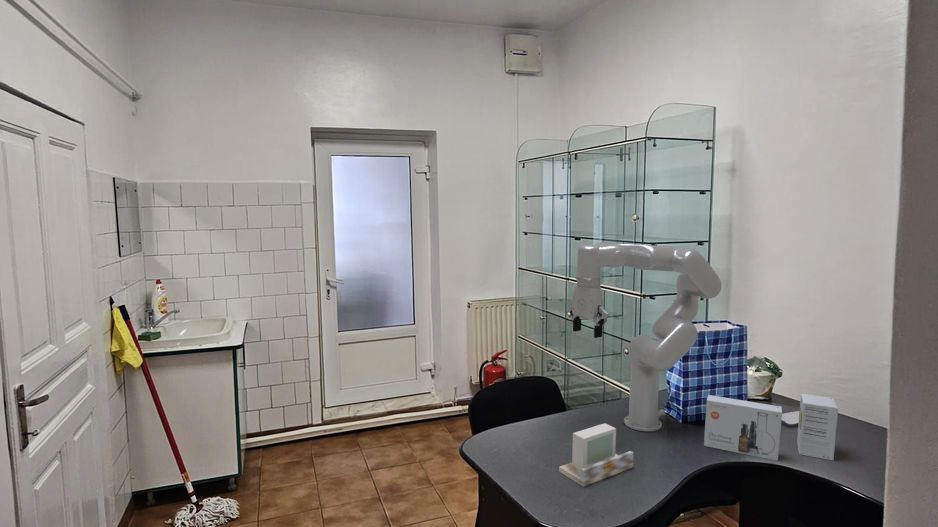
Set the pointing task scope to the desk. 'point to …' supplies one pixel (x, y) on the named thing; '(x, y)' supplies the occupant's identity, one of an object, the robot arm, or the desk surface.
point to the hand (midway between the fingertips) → (587, 334)
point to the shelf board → (598, 469)
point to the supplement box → (817, 426)
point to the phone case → (790, 419)
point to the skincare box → (743, 427)
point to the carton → (593, 445)
